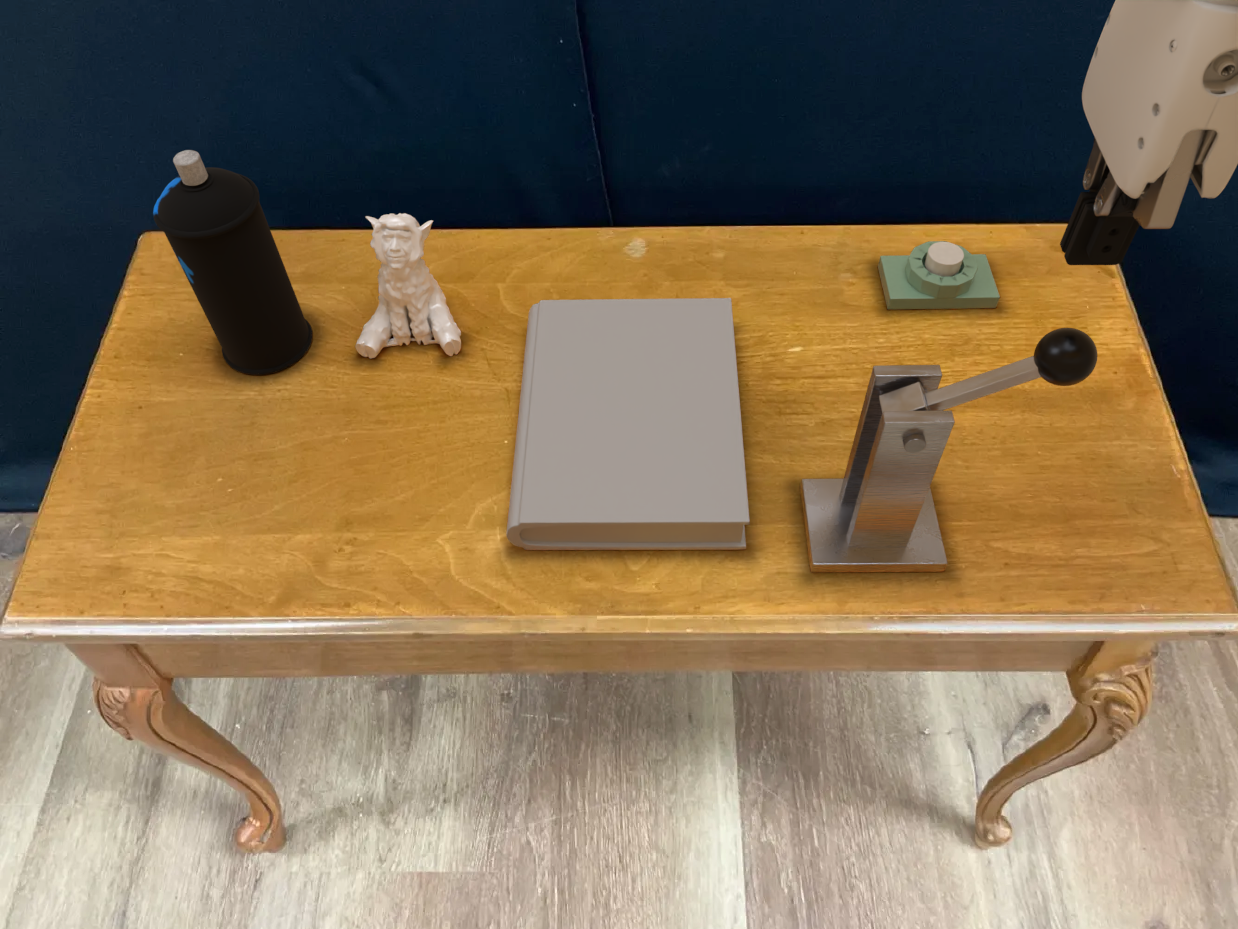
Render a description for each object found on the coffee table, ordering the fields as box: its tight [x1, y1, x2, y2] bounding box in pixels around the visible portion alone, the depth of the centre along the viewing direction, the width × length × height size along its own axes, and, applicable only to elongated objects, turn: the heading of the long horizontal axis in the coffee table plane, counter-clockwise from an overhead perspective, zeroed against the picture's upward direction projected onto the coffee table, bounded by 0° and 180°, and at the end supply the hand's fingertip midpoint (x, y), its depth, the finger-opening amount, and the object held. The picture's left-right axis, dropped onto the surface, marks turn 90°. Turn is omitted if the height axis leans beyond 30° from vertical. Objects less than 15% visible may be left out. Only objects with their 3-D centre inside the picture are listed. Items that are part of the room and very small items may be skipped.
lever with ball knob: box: [879, 327, 1098, 413], centre depth 62 cm, size 13×4×4 cm, turn 90°
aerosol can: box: [152, 149, 313, 376], centre depth 81 cm, size 8×8×20 cm
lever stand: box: [799, 364, 956, 573], centre depth 69 cm, size 10×8×16 cm
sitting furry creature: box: [354, 212, 462, 360], centre depth 85 cm, size 10×9×12 cm
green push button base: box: [877, 240, 1001, 310], centre depth 90 cm, size 10×6×3 cm, turn 89°
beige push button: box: [925, 241, 964, 277], centre depth 89 cm, size 3×3×2 cm
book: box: [505, 297, 750, 551], centre depth 80 cm, size 18×4×24 cm
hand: (1089, 255), depth 57 cm, fingers closed
